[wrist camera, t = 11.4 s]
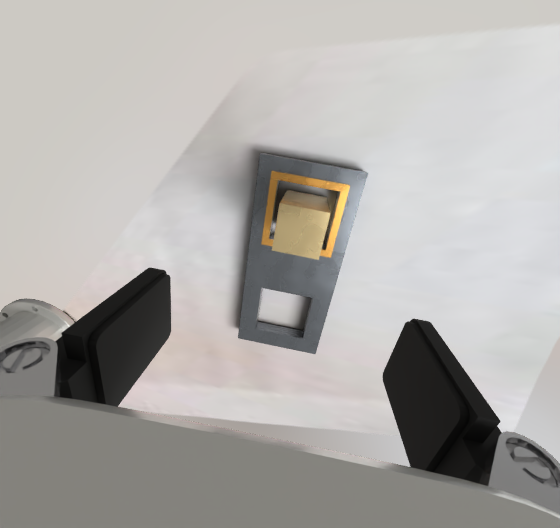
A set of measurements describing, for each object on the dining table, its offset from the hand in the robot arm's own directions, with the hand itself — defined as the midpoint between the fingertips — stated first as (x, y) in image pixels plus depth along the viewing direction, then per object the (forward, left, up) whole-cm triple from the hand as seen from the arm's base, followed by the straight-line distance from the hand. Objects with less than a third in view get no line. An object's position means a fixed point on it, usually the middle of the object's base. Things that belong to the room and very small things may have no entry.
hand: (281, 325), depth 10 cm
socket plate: (-2, -5, -19) cm, 20 cm away
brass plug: (0, 0, -19) cm, 19 cm away
